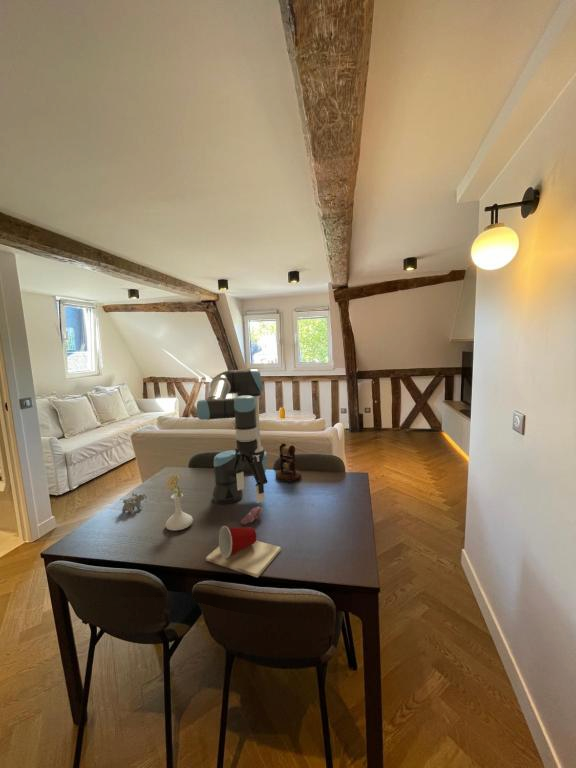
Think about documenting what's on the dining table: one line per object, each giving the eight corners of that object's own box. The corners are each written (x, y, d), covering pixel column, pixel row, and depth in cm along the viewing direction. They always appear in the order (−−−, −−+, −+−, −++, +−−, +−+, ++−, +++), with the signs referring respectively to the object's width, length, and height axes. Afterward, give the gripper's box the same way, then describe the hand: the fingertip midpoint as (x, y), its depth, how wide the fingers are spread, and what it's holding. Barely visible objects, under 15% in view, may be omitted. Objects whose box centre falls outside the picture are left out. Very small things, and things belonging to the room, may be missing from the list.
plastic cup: (254, 515, 125) (226, 521, 118) (263, 545, 119) (233, 554, 112) (242, 524, 132) (214, 531, 124) (250, 553, 126) (221, 562, 119)
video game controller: (247, 529, 140) (252, 517, 138) (239, 523, 142) (244, 511, 140) (260, 519, 149) (265, 507, 147) (253, 512, 151) (257, 501, 148)
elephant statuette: (119, 516, 155) (116, 501, 153) (133, 502, 166) (132, 488, 165) (137, 517, 153) (135, 501, 152) (151, 503, 165) (149, 489, 164)
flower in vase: (165, 523, 146) (160, 468, 143) (191, 516, 150) (187, 464, 148) (166, 538, 134) (161, 479, 131) (195, 531, 139) (190, 473, 136)
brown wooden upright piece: (306, 476, 190) (305, 443, 188) (289, 485, 179) (288, 450, 177) (287, 471, 200) (285, 439, 198) (270, 479, 189) (268, 445, 187)
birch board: (206, 560, 119) (205, 557, 119) (232, 536, 133) (232, 534, 133) (257, 577, 109) (257, 574, 109) (280, 550, 123) (280, 547, 123)
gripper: (275, 443, 111) (278, 503, 114) (238, 430, 131) (241, 481, 133) (256, 448, 107) (260, 510, 109) (221, 434, 126) (225, 487, 129)
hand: (250, 495), depth 121 cm, fingers open, 13 cm apart
